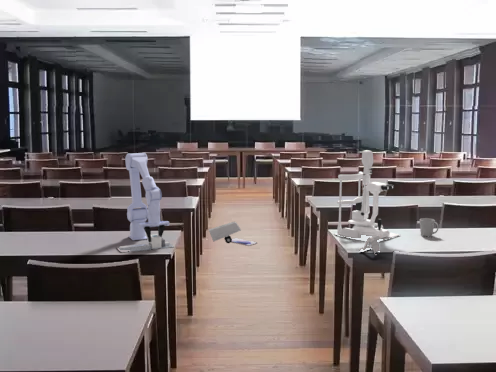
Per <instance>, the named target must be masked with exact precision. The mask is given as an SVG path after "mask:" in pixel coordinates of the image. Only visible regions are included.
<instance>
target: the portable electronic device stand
mask: <svg viewBox="0 0 496 372" xmlns="http://www.w3.org/2000/svg"><path fill="white" fill-rule="evenodd" d="M381 238H382V236H381V235H376V236H373V237H369V238H368V239H367V241H366V242H365V244H364V246H363V247H360V248H359V249H358V251H359V250H361V249H363V250H365V249H366V248H370V247H371V248H373V249H372V250H373V253H374V256H377V255H378V254H375V252H377V251H381V249H380V246H379V243H378V242H377V240H379V239H381ZM369 242H371V243H369ZM369 244H371V245H369ZM377 253H378V252H377Z"/></svg>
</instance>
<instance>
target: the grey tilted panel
mask: <svg viewBox="0 0 496 372" xmlns="http://www.w3.org/2000/svg"><path fill="white" fill-rule="evenodd" d="M241 231H242V229H241V228H240V226H239V224H238V223H237V222H236V221H231V222H229V223H225V224H222V225H219V226H216V227H213V228H209V229H208V232H209V235H210V237H211V239H212V242H217V241H218V240H221V239H223V238H224V241H225V243H226V244H230V243H231V242H232V239H233V238H232V236H231V235H233V234H236V233H238V232H241Z"/></svg>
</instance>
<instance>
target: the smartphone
mask: <svg viewBox="0 0 496 372" xmlns="http://www.w3.org/2000/svg"><path fill="white" fill-rule="evenodd" d="M231 239H232V242H231V243H232V244H237V245H241V246H245V247H246V246H247V247H252V246H254V245H257V244H258V242H256V241H253V240H247V239H242V238H237V237H234V238H231Z"/></svg>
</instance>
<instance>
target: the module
mask: <svg viewBox="0 0 496 372" xmlns="http://www.w3.org/2000/svg"><path fill="white" fill-rule="evenodd" d="M148 243H150V244H152V248H159V247H161V237H160V236H159V235H158V233H156V234H151V242H149V241H148ZM148 243H147V244H148Z"/></svg>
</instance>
